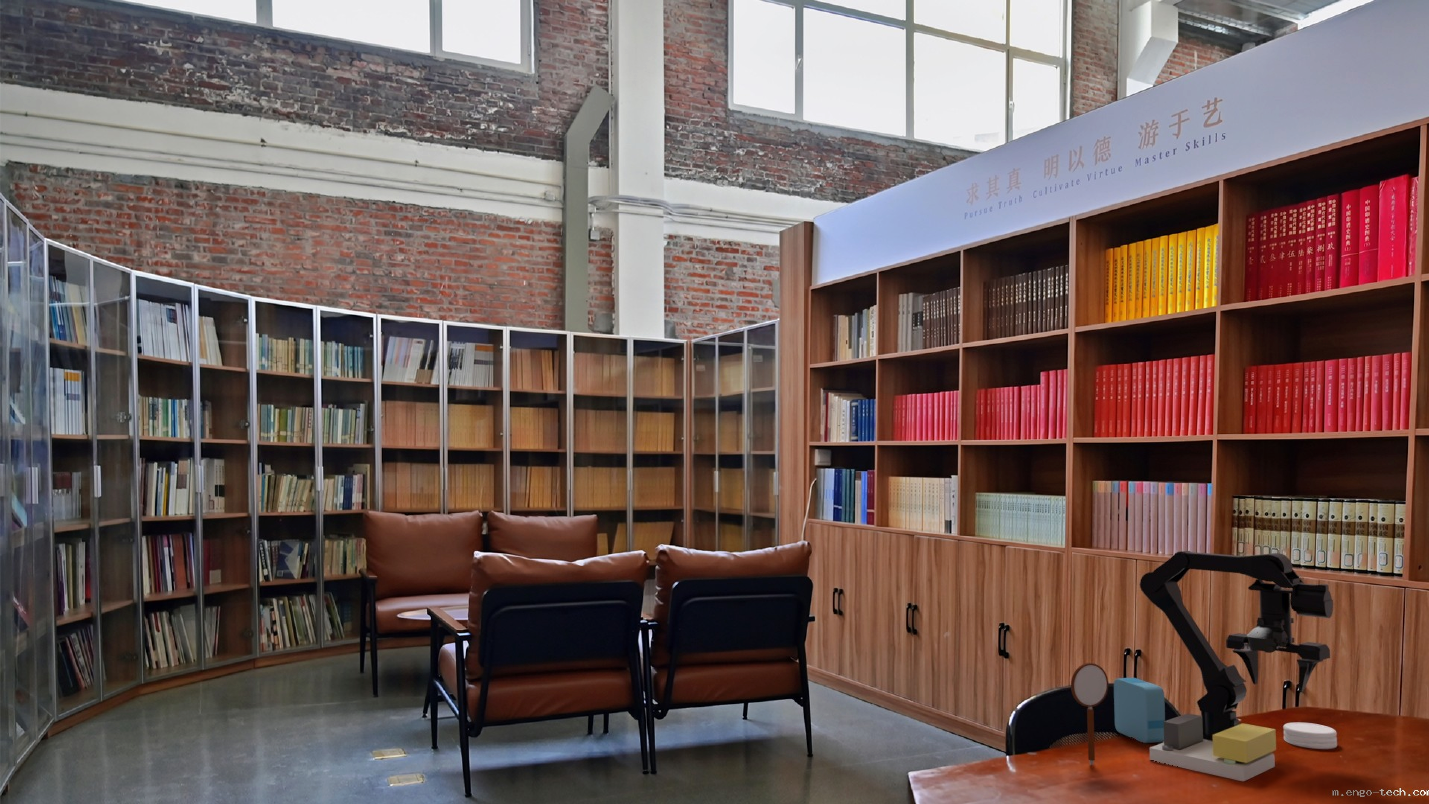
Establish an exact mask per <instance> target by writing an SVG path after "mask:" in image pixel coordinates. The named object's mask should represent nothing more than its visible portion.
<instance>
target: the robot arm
mask: <svg viewBox="0 0 1429 804" xmlns="http://www.w3.org/2000/svg"><path fill="white" fill-rule="evenodd" d="M1190 570H1198V571H1210V572H1218V573H1222V572H1223V573H1231V574H1241V575H1245V576H1248V577H1249V578H1252V579H1255V581H1254V582H1253V583H1252V584H1251V585H1249V586H1248V587H1247V589H1248V590H1249V591H1255V592H1257V591H1258V592H1259V617H1257V620H1256V626H1255V627H1254V628H1253V629H1251V631H1249V633H1248V634H1247V633H1241V632H1238V633H1232V634H1229V635H1227V637H1226V639H1225V645H1226V646H1225V647H1226V649H1229V650H1230V649H1232V652H1233V654H1237V655H1238V656H1239V657H1240V658H1241V659H1242V661H1243V663H1244V665H1245V667H1246V669H1247V671H1248V674H1249V676H1250V680H1251V681H1252V684H1253V685H1257V684H1258V682H1259V652H1264V653H1267V654H1269V653H1270V654H1272V653H1274V652H1275V651H1277V652H1284V653H1289V654H1297V655H1298V656H1299V657H1300V658H1299V659H1296V662H1297V665H1298V689H1299V692H1300V693H1302V692H1303V693H1304V691H1305V689H1306V686H1307V685H1308V682H1309V679H1310V677H1311V675H1312V673H1313V670H1314V669H1315V668H1316V666H1317V665H1318V663H1322V662H1324V660H1327V659H1331V650H1330V647H1329V646H1328V645H1327V643H1321V642H1320V643H1319V642H1318V643H1317V642H1312V641H1311V642H1310V641H1306V642H1302V643H1299V644H1296V643H1295V637H1293V636H1292V634H1293V633H1292V624H1294V623H1295V622H1294V617H1292V614H1291V613H1292V611H1293V612H1295V613H1296V614H1297V615H1298V616H1302V617H1303V616H1304V617H1315V618H1322V619H1323V618H1324V619H1331V618H1332V615H1333V611H1334V599H1332V593H1331V591H1330V590H1329V588H1330V587H1329V586H1330V585H1328V584H1326V583H1325V584H1323V583H1320V584H1319V583H1318V584H1312V583H1305V582H1304V581H1303V580H1302V578H1301V577H1300V576H1299V575H1298V573H1296V571H1295V570H1294V568H1293V563H1292V561H1291V560H1290V558H1289V557H1287V555H1286V554H1283V553H1280V552H1274V553H1261V554H1251V555H1233V554H1224V553H1223V554H1221V553H1208V552H1207V553H1206V552H1195V551H1190V550H1182V551H1177V552H1175V553H1174V554H1173V555H1172V556H1171V557H1170V558H1169V559H1168V560H1166V561H1165V562H1163V563H1162V564H1160V565H1159V566H1158V567H1157V568H1156V569H1154V570H1153V571H1150V572H1146V573H1144V575H1142V577H1141V578H1140V583H1139V588H1140V590H1141V592H1142V593H1143V595H1144V596H1145V597H1146V598H1147V599H1148V600H1149V602H1151V603H1152V605H1155V607H1157V608H1158V609H1159V610H1160V611H1162V612H1163V613H1164V615H1165V616H1166V617H1167V619H1168V621H1169V622H1170V624H1171V626H1172V627H1173V629H1174V630H1175V632H1176V633H1177V635H1178V637H1179V638H1180V640H1181V641H1182V643H1183V644H1184V646H1185V648H1186V649H1187V651H1188V652H1189V654H1190V655H1191V657H1192V659H1193V661H1194V662H1195V663H1196V665H1197V666H1198V667H1199V670H1200V672H1201V673H1200V674H1201V677H1202V683H1203V687H1204V688H1205V691H1206V694H1204V695H1203V696H1202V697H1201V698H1199V700H1197V701H1196V704H1197V707H1198V709H1199V712H1200V713H1201V714H1200V716H1202V724H1203V740H1208V741H1213V735H1214V734H1216V733H1219V732H1221V731H1224V730H1227V729H1229V728H1232V727H1235V726H1237V725H1240V721H1239V718H1237V711H1236V710H1237V708H1238V705H1239V704H1240V703H1241V702H1242V701H1243V700H1245V698H1246V696H1247V693H1248V692H1247V691H1248V689H1247V687H1246V685H1245V683H1246V682H1247V681H1246V680H1245V679H1244V677H1242V676H1241V675H1240V672H1239V670H1238V669H1237V668H1238V667H1236V665H1235V664H1231V665H1229V666H1227V665H1226V664H1225V663H1223V661H1222V660H1221V659H1220V658H1219V657H1218V655H1217V653H1216V652H1215V650H1214V649H1213V647H1212V646H1211V645H1210V643H1209V641H1208V639H1207V638H1206V637H1205V635H1204V634H1203V632H1202V630H1201V629H1200V628H1199V625H1197V623H1196V622H1195V620H1194V618H1193V617H1192V615H1191V614H1190V612H1189V610H1188V609H1187V607H1186V606H1185V603H1184V602H1183V597H1182V592H1181V588H1180V586H1179V585H1178V583H1179V582H1180V581H1181V580H1182V579H1184V577H1185V576H1186V575H1187V573H1188V572H1189V571H1190ZM1264 581H1265V582H1264ZM1291 610H1292V611H1291Z"/></svg>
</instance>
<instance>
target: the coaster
mask: <svg viewBox="0 0 1429 804" xmlns="http://www.w3.org/2000/svg"><path fill="white" fill-rule="evenodd" d="M1282 728H1283V741H1284V742H1286V743H1288V744H1290V745H1292V746H1296V747H1300V748H1306V749H1307V748H1308V749H1315V750H1329V749H1330V750H1331V749H1335V748H1337V746H1338V738H1337V737H1338V736H1337V735H1338V734H1337V731H1336V729H1334V728H1332V727H1330V726H1326V725H1322V724H1317V723H1311V722H1301V721H1300V722H1299V721H1298V722H1287V723H1285V724H1283V726H1282Z"/></svg>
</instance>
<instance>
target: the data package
mask: <svg viewBox="0 0 1429 804" xmlns="http://www.w3.org/2000/svg"><path fill="white" fill-rule="evenodd" d="M1113 699H1114V700H1113V701H1114V703H1113V705H1114V706H1113V708H1114V727H1115V729H1116V731H1117V732H1118V733H1119V734H1121V735H1124V736H1126V737H1129V738H1131V737H1133V738H1135V739H1136V740H1135V739H1134V740H1135V741H1137V742H1140V743H1142V742H1143V744H1155V743H1157V744H1161V743H1164V723H1163V722H1164V721H1166V712H1165V711H1166V707H1165V692H1164V689H1163V687H1161V686H1160V685H1157V684H1155V683H1150V682H1148V681H1145V680H1142V679H1140V678H1136V677H1121V678H1115V680H1114V682H1113ZM1133 738H1132V739H1133Z"/></svg>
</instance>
